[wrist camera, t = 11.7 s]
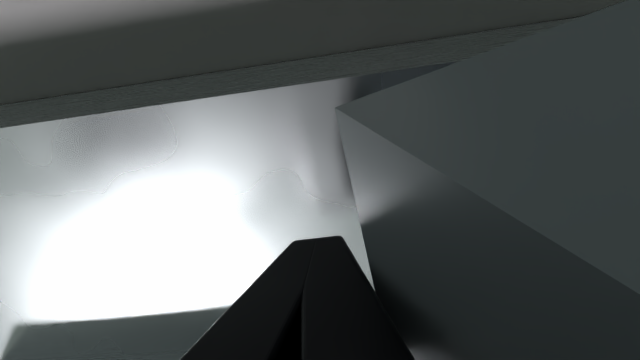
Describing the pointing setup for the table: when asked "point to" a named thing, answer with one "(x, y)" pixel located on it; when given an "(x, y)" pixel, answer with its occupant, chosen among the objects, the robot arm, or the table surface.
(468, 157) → the block
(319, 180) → the rail
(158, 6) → the table surface
